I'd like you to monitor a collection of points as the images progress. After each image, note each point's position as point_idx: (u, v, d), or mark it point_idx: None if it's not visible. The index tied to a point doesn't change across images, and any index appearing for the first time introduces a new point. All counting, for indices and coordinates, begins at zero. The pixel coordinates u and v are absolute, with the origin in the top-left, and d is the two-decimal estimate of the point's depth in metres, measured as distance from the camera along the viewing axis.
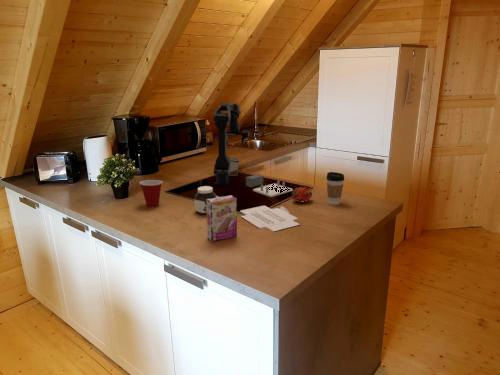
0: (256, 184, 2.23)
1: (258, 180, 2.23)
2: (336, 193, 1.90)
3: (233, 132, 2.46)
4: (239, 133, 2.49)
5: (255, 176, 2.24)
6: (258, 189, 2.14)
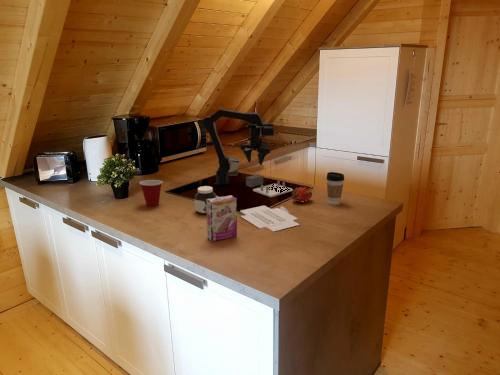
0: (257, 184, 2.23)
1: (258, 180, 2.23)
2: (336, 193, 1.90)
3: (251, 146, 2.17)
4: None
5: (255, 176, 2.24)
6: (258, 189, 2.14)
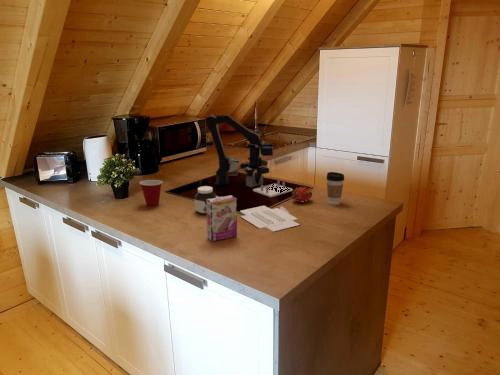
0: (257, 184, 2.23)
1: None
2: (336, 193, 1.90)
3: (250, 165, 2.20)
4: (257, 169, 2.20)
5: None
6: (258, 189, 2.14)
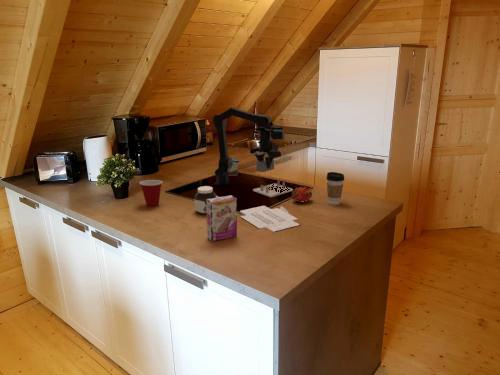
0: None
1: None
2: (336, 193, 1.90)
3: (261, 149, 2.11)
4: (269, 153, 2.10)
5: None
6: (258, 189, 2.14)
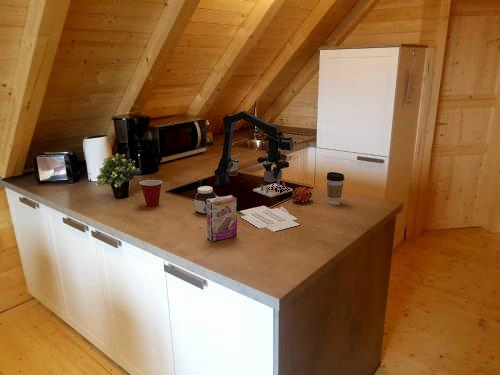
0: (275, 179, 2.11)
1: None
2: (336, 193, 1.90)
3: (269, 159, 2.07)
4: (276, 163, 2.07)
5: None
6: (258, 189, 2.14)
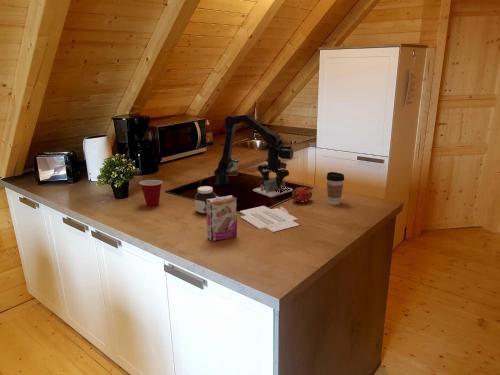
0: (275, 188, 2.12)
1: None
2: (336, 193, 1.90)
3: (269, 168, 2.09)
4: (276, 171, 2.08)
5: (273, 180, 2.13)
6: (258, 189, 2.14)
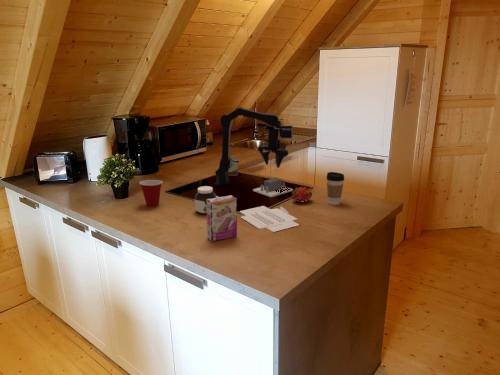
0: (275, 188, 2.12)
1: (277, 183, 2.12)
2: (336, 193, 1.90)
3: (269, 148, 2.13)
4: (276, 151, 2.13)
5: (273, 180, 2.13)
6: (258, 189, 2.14)
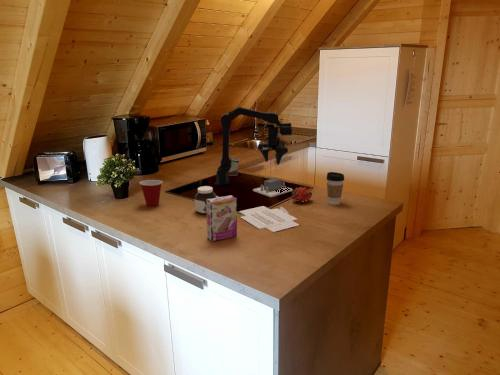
0: (275, 188, 2.12)
1: (277, 183, 2.12)
2: (336, 193, 1.90)
3: (269, 145, 2.19)
4: (276, 149, 2.18)
5: (273, 180, 2.13)
6: (258, 189, 2.14)
